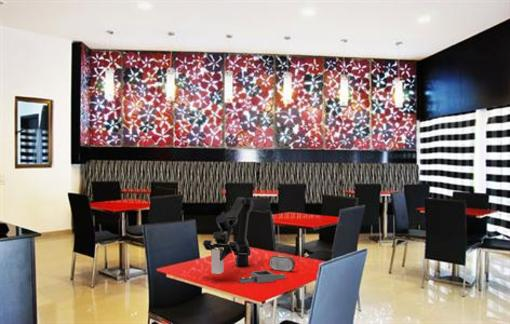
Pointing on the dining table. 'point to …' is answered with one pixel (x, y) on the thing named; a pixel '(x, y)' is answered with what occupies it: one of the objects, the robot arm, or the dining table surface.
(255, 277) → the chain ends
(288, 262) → the tin
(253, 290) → the dining table surface
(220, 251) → the grey upright column
